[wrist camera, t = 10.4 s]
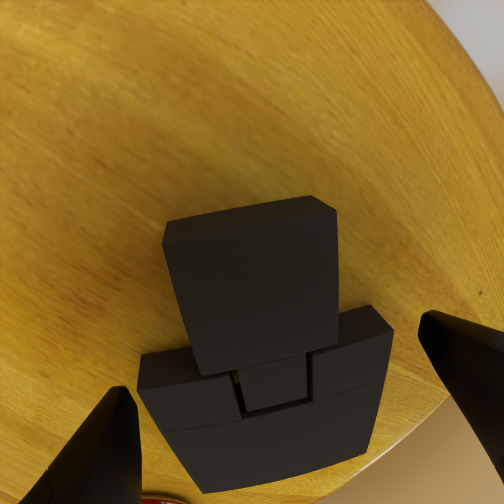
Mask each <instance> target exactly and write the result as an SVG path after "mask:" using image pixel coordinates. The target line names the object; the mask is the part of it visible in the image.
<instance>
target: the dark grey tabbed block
mask: <svg viewBox="0 0 504 504" xmlns="http://www.w3.org/2000/svg"><path fill="white" fill-rule="evenodd" d="M162 246H163V250H164V254H165V258H166V262H167V266H168V269H169V273H170V277H171V280H172V284H173V288H174V291H175V295H176V298H177V302H178V305H179V308H180V312H181V315H182V318H183V322H184V325H185V328H186V331H187V334H188V338H189V341H190V344H191V347H192V350H193V353H194V356H195V359H196V362H197V365H198V368H199V371H200V374H201V375H202V376H205V375H210V374H216V373H221V372H226V371H231V370H237V374H238V378H239V382H240V386H241V390H242V394H243V398H244V402H245V406H246V410H247V411H253V410H257V409H261V408H266V407H270V406H274V405H278V404H282V403H286V402H290V401H294V400H297V399H301V398H304V397H307V373H306V353H307V352H311V351H314V350H318V349H321V348H325V347H328V346H332V345H335V344H338V316H339V268H338V231H337V211H336V210H335V209H334V208H332V207H330V206H329V205H327V204H325V203H324V202H322V201H320V200H319V199H317V198H315V197H314V196H312V195H309V196H303V197H297V198H291V199H285V200H279V201H273V202H267V203H261V204H256V205H250V206H245V207H239V208H234V209H228V210H223V211H218V212H213V213H208V214H203V215H198V216H193V217H188V218H183V219H178V220H173V221H168V222H167V225H166V229H165V233H164V237H163V242H162Z"/></svg>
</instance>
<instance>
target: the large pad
mask: <svg viewBox="0 0 504 504" xmlns="http://www.w3.org/2000/svg"><path fill="white" fill-rule="evenodd" d="M393 334H394V329H393V328H392V327H391V326H390V325H389V324H388V323H387V322H386V321H385V320H384V319H383V318H382V316H381V315H380V314H379V313H378V312H377V311H376V310H375V309H374V308H373V307H372V306H371V305H366V306H363V307H360V308H356V309H353V310H349V311H346V312H342V313H339V316H338V344H335V345H332V346H328V347H325V348H321V349H318V350H314V351H311V352H307V353H306V373H307V397H304V398H301V399H297V400H294V401H290V402H286V403H282V404H278V405H274V406H270V407H266V408H261V409H257V410H253V411H247V410H246V406H245V402H244V398H243V394H242V390H241V386H240V385H238V386H235V384H234V380H233V377H232V373H231V371H226V372H221V373H216V374H210V375H205V376H202V375H201V374H200V371H199V368H198V365H197V362H196V359H195V356H194V353H193V350H192V347H188V348H183V349H177V350H171V351H165V352H159V353H152V354H146V355H142V356H141V361H140V368H139V375H138V383H137V392H138V394H139V396H140V398H141V399H142V401H143V403H144V405H145V407H146V408H147V410H148V412H149V413H150V415H151V417H152V419H153V420H154V422H155V424H156V425H157V427H158V429H159V430H160V431H161V433H162V435H163V436H164V438H165V439H166V441H167V443H168V444H169V446H170V447H171V449H172V450H173V452H174V453H175V455H176V456H177V458H178V459H179V461H180V462H181V464H182V465H183V467H184V468H185V470H186V471H187V472H188V474H189V475H190V477H191V478H192V479H193V481H194V482H195V483H196V485H197V486H198V487H199V489H200V490H201V491H202V493H203V494H207V493H215V492H222V491H228V490H235V489H240V488H246V487H251V486H256V485H261V484H266V483H270V482H275V481H279V480H283V479H287V478H291V477H295V476H298V475H302V474H306V473H309V472H312V471H316V470H319V469H322V468H325V467H328V466H332V465H335V464H337V463H340V462H343V461H346V460H349V459H352V458H354V457H357V456H359V455H362V454H365V453H366V452H367V448H368V445H369V441H370V438H371V434H372V431H373V427H374V423H375V420H376V416H377V412H378V408H379V404H380V399H381V395H382V391H383V386H384V382H385V377H386V373H387V368H388V363H389V358H390V352H391V347H392V341H393Z"/></svg>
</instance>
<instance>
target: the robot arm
mask: <svg viewBox="0 0 504 504" xmlns="http://www.w3.org/2000/svg"><path fill="white" fill-rule="evenodd" d="M418 339H419V341H420V343H421V345H422V347H423V349H424V350H425V352H426V354H427V356H428V358H429V359H430V361H431V363H432V365H433V367H434V369H435V371H436V372H437V374H438V376H439V378H440V379H441V381H442V382H443V384H444V385H445V387H446V388H447V390H448V391H449V393H450V394H451V396H452V397H453V399H454V400H455V402H456V403H457V405H458V407H459V408H460V410H461V411H462V413H463V414H464V416H465V418H466V419H467V421H468V423H469V424H470V425H471V427H472V429H473V431H474V432H475V434H476V436H477V437H478V439H479V441H480V442H481V444H482V446H483V447H484V449H485V451H486V453H487V454H488V456H489V458H490V460H491V461H492V463H493V465H494V466H495V469H496V471H497V473H498V474H499V476H500V478H501V480H502V482H503V484H504V332H502V331H499V330H496V329H493V328H489V327H486V326H483V325H480V324H477V323H474V322H471V321H468V320H465V319H461V318H458V317H455V316H452V315H449V314H446V313H443V312H440V311H437V310H430V311H427V312H425V313H423V314H422V316H421V320H420V325H419V330H418ZM18 504H142V453H141V442H140V430H139V417H138V408H137V405H136V403H135V401H134V399H133V398H132V396H131V394H130V392H129V390H128V389H127V387H126V386H113V387H111V388H110V389H109V390H108V392H107V393H106V394H105V395H104V397H103V398H102V399H101V400H100V402H99V403H98V404H97V405H96V407H95V408H94V409H93V411H92V412H91V413H90V414H89V416H88V417H87V418H86V419H85V421H84V422H83V423H82V424H81V426H80V427H79V428H78V430H77V431H76V432H75V433H74V435H73V436H72V437H71V438H70V440H69V441H68V442H67V444H66V445H65V446H64V448H63V449H62V450H61V451H60V453H59V454H58V455H57V457H56V458H55V459H54V460H53V462H52V463H51V464H50V466H49V467H48V470H46V471H45V472H44V473H43V475H42V476H41V477H40V479H39V480H38V481H37V482H36V484H35V485H34V486H33V487H32V489H31V490H30V491H29V492H28V493H27V494H26V496H25V497H24V498H23V499H22V500H21V501H20V502H19V503H18Z"/></svg>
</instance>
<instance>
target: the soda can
mask: <svg viewBox="0 0 504 504" xmlns="http://www.w3.org/2000/svg"><path fill="white" fill-rule="evenodd" d="M142 504H187V503H185V502H183V501H181V500H179V499H177V498H174V497H170V496H165V495H157V494H144V495H142Z"/></svg>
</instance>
